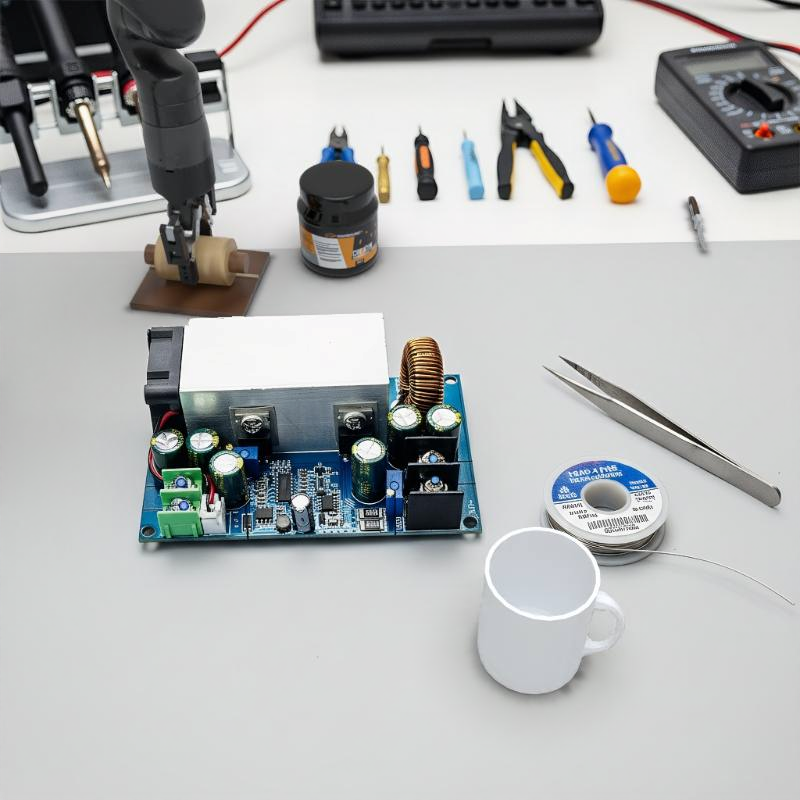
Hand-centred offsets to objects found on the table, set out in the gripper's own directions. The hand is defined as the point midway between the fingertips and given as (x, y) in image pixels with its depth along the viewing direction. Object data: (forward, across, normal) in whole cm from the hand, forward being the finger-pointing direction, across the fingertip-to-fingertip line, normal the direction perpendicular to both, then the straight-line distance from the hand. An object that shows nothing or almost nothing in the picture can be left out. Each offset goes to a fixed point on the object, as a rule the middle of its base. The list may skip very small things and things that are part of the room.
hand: (198, 267), depth 127 cm
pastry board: (+3, -1, 0) cm, 3 cm away
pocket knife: (+3, -24, +64) cm, 69 cm away
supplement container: (+3, -9, +16) cm, 19 cm away
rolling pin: (+2, 0, 0) cm, 2 cm away
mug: (+3, +48, +46) cm, 67 cm away
